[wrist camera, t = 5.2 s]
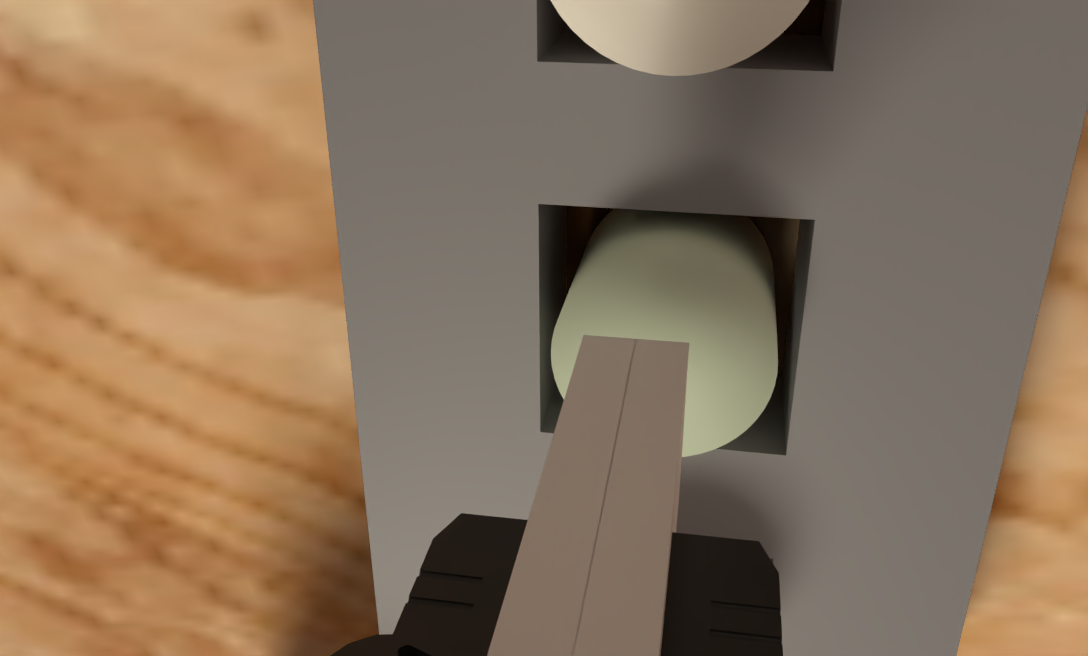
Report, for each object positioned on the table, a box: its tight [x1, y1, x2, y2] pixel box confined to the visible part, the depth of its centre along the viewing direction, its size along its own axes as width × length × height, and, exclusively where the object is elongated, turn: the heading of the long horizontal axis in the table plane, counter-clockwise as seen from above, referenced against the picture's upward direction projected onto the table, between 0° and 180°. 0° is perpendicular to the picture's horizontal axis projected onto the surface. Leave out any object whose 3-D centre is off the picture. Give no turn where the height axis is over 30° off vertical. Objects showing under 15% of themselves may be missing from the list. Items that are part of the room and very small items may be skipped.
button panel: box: [313, 0, 1088, 656], centre depth 19 cm, size 20×12×3 cm, turn 1°
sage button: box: [551, 208, 778, 457], centre depth 18 cm, size 4×4×4 cm
